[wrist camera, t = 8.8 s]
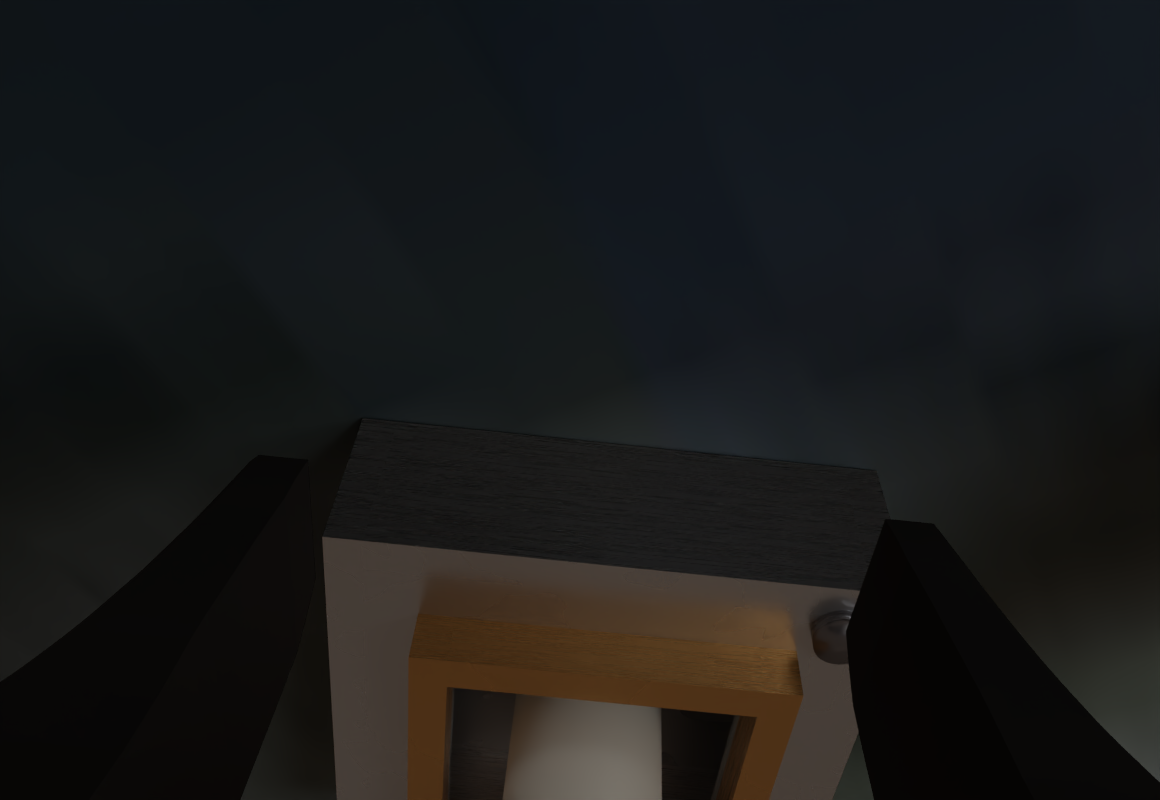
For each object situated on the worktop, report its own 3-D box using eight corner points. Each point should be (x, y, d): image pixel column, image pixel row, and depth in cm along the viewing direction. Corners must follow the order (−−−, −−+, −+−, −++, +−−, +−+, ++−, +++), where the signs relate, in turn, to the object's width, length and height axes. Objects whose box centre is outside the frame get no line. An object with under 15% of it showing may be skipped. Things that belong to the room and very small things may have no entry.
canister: (689, 636, 28) (697, 874, 23) (602, 703, 30) (591, 939, 25) (574, 566, 27) (553, 802, 22) (490, 640, 29) (453, 875, 23)
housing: (876, 471, 25) (924, 641, 21) (773, 780, 32) (794, 954, 28) (362, 418, 25) (307, 579, 21) (370, 742, 32) (330, 912, 28)
